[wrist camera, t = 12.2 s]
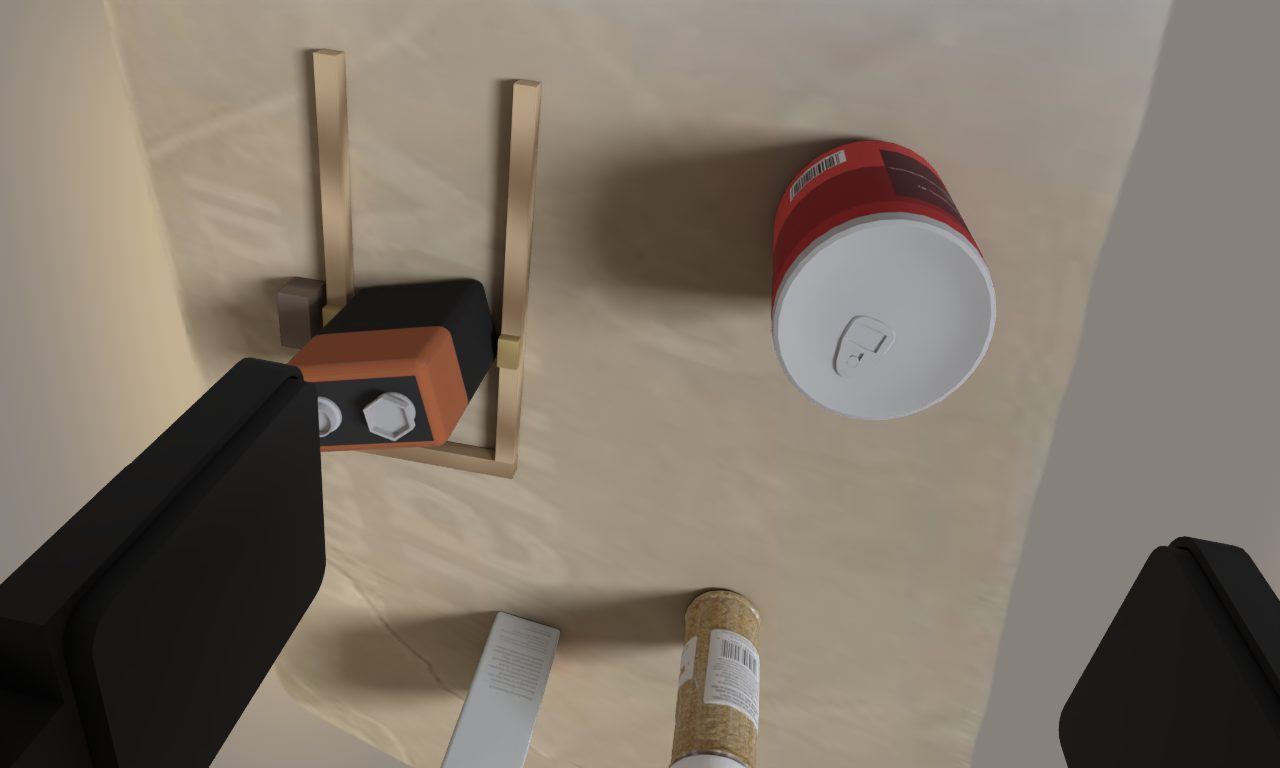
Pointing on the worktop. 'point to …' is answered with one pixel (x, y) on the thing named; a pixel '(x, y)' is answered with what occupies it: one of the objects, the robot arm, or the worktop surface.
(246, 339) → the worktop surface
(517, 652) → the skincare box
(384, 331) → the battery
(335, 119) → the track
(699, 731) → the sprinkles bottle
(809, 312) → the canned food
